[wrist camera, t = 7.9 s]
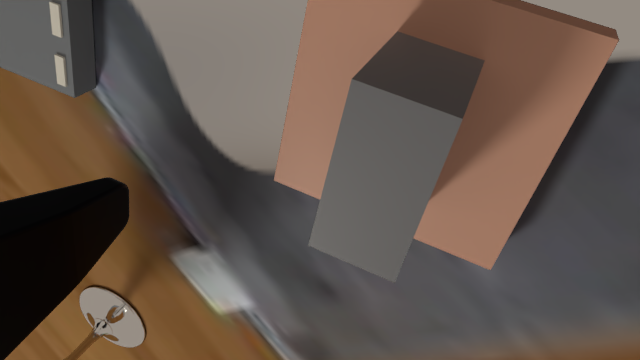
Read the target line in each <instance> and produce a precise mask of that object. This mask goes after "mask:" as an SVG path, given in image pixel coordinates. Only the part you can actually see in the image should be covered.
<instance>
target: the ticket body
mask: <svg viewBox="0 0 640 360" xmlns="http://www.w3.org/2000/svg"><path fill="white" fill-rule="evenodd" d="M0 67H1V68H4V69H6V70H9V71H11V72H13V73H16V74H18V75H21V76H23V77H26V78H28V79H30V80H33V81H35V82H38V83H40V84H42V85H45V86H47V87H50V88H52V89H54V90H57V91H59V92H62V93H64V94H67V95H69V96H71V97H74V98H75V97H77V96H79V95H81V94H84V93H86V92H88V91H90V90H92V89H94V88H96V73H95V53H94V34H93V15H92V0H0Z"/></svg>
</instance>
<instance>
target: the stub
mask: <svg viewBox="0 0 640 360" xmlns="http://www.w3.org/2000/svg"><path fill="white" fill-rule="evenodd" d="M618 41H619V38H618V36H617V32H616V30H615V29H612V28H609V27H605V26H602V25H599V24H596V23H592V22H589V21H586V20H583V19H579V18H576V17H573V16H570V15H566V14H563V13H560V12H557V11H553V10H550V9H547V8H544V7H540V6H537V5H534V4H530V3H527V2H524V1H521V0H308V2H307V8H306V13H305V18H304V23H303V29H302V34H301V39H300V45H299V50H298V55H297V60H296V66H295V71H294V77H293V82H292V87H291V92H290V98H289V103H288V108H287V114H286V119H285V124H284V129H283V135H282V140H281V145H280V151H279V156H278V161H277V166H276V172H275V177H274V181H276V182H279V183H281V184H284V185H286V186H289V187H291V188H293V189H296V190H298V191H301V192H303V193H305V194H308V195H310V196H313V197H315V198H318V199H320V203H319V206H318V210H317V214H316V218H315V222H314V226H313V229H312V233H311V237H310V241H309V245H308V246H311V247H313V248H315V249H318V250H320V251H322V252H324V253H327V254H329V255H331V256H334V257H336V258H338V259H340V260H343V261H345V262H347V263H350V264H352V265H354V266H357V267H359V268H361V269H363V270H366V271H368V272H370V273H373V274H375V275H377V276H380V277H382V278H384V279H386V280H389V281H391V282H393V283H395V281H396V278H397V276H398V274H399V271H400V269H401V266H402V264H403V262H404V259H405V257H406V254H407V252H408V250H409V247H410V245H411V242H412V240H413V238H414V239H416V240H419V241H421V242H424V243H426V244H429V245H431V246H433V247H436V248H438V249H441V250H443V251H445V252H448V253H450V254H453V255H455V256H457V257H460V258H462V259H465V260H467V261H470V262H472V263H474V264H477V265H479V266H482V267H484V268H486V269H489V270H491V268H492V266H493V264H494V263H495V261H496V259H497V257H498V256H499V254H500V252H501V250H502V248H503V247H504V245H505V243H506V241H507V239H508V238H509V236H510V234H511V232H512V231H513V229H514V227H515V225H516V223H517V222H518V220H519V218H520V216H521V214H522V213H523V211H524V209H525V207H526V206H527V204H528V202H529V200H530V198H531V197H532V195H533V193H534V191H535V189H536V188H537V186H538V184H539V182H540V181H541V179H542V177H543V175H544V173H545V172H546V170H547V168H548V166H549V164H550V163H551V161H552V159H553V157H554V156H555V154H556V152H557V150H558V148H559V147H560V145H561V143H562V141H563V140H564V138H565V136H566V134H567V132H568V131H569V129H570V127H571V125H572V123H573V122H574V120H575V118H576V116H577V115H578V113H579V111H580V109H581V107H582V106H583V104H584V102H585V100H586V98H587V97H588V95H589V93H590V91H591V90H592V88H593V86H594V84H595V82H596V81H597V79H598V77H599V75H600V73H601V72H602V70H603V68H604V66H605V65H606V63H607V61H608V59H609V57H610V56H611V54H612V52H613V50H614V48H615V47H616V45H617V43H618Z"/></svg>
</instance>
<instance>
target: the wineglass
mask: <svg viewBox="0 0 640 360" xmlns="http://www.w3.org/2000/svg"><path fill="white" fill-rule="evenodd" d="M79 304H80V308H81V311H82V313H83V315H84V317H85V318H86V320H87V321H88V322H89V324H90V325H91V326H92V327H93V329H92V331H91V332H90V334H89V335H88V336H87V338H86V339H85V340H84V341H83V342H82V343H81V344H80V345H79V346H78V347H77V348H76V349H75V350H74V351H73V352H72V353H71V354H70V355H69V356H67V357H66V358H65V359H63V360H77V359H78V358H79V357H80V356H81V355H82V354H83V353H84V352H85V351H86V350H87V349H88V348H89V347H90V346H91V345H92V344H93V343H94V342H95V341H96V340H98V339H99V338H101V337H104V338H106V339H107V340H109V341H111V342H112V343H114V344H117V345H119V346H123V347H128V348H132V347H137V346H139V345H140V344H142V343H143V341H144V339H145V328H144V325H143V322H142V320H141V318H140V317H139V315H138V314H137V312H136V311H135V310H134V309H133V307H132V306H131V305H130V304H129V303H128V302H126V301H125V300H124V299H123V298H121V297H120V296H119V295H117V294H115V293H114V292H112V291H110V290H107V289H105V288H101V287H88V288H86V289H84V290H83V291H82V293H81V295H80V298H79Z"/></svg>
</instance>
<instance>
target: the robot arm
mask: <svg viewBox="0 0 640 360" xmlns="http://www.w3.org/2000/svg"><path fill="white" fill-rule="evenodd" d="M128 218H129V189H128V187H127V185H125V184H124V183H122V182H119V181H117V180H115V179H113V178H102V179H98V180H93V181H89V182H85V183H81V184H76V185H72V186H68V187H64V188H59V189H55V190H51V191H47V192H42V193H38V194H34V195H29V196H25V197H21V198H17V199H12V200H8V201H4V202H0V360H4V359H5V358H6V357H7V356H8V355H9V354H10V353H11V352H12V351H13V350H14V349H15V348H16V347H17V346H18V345H19V344H20V343H21V342H22V341H23V340H24V339H25V338H26V337H27V336H28V335H29V334H30V333H31V332H32V331H33V330H34V329H35V328H36V327H37V326H38V325H39V324H40V323H41V322H42V321H43V320H44V319H45V318H46V317H47V316H48V315H49V314H50V313H51V312H52V311H53V310H54V309H55V308H56V307H57V306H58V305H59V304H60V303H61V302H62V301H63V300H64V299H65V298H66V297H67V296H68V295H69V294H70V293H71V292H72V290H73V289H74V288H75V287H76V286H77V285H78V284H79V283H80V282H81V281H82V279H83V278H84V277H85V276H86V275H87V274H88V272H89V271H90V270H91V269H92V267H93V266H94V265H95V264H96V262H97V261H98V260H99V259H100V257H101V256H102V255H103V254H104V252H105V251H106V250H107V249H108V247H109V246H110V245H111V244H112V242H113V241H114V240H115V239H116V237H117V236H118V235H119V234H120V232H121V231H122V230H123V229H124V227H125V226H126V224H127V222H128Z"/></svg>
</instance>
